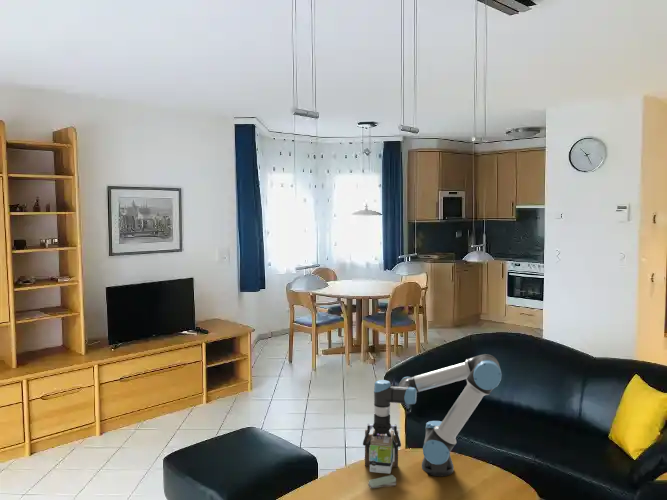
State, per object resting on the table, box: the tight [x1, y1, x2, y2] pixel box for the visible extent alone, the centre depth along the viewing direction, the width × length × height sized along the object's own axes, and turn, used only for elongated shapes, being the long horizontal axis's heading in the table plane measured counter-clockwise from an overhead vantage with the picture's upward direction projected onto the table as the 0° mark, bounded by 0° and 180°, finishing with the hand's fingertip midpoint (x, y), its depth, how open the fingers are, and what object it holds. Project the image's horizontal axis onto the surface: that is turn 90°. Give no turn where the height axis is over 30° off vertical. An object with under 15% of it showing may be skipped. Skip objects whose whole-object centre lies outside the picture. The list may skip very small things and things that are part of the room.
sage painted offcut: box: [368, 474, 397, 487], centre depth 249 cm, size 12×4×2 cm, turn 115°
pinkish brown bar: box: [367, 483, 396, 489], centre depth 250 cm, size 12×4×2 cm, turn 94°
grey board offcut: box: [368, 480, 397, 489], centre depth 250 cm, size 12×4×2 cm, turn 106°
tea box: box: [369, 428, 395, 475], centre depth 259 cm, size 15×10×15 cm, turn 169°
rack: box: [364, 429, 399, 468], centre depth 269 cm, size 16×2×18 cm, turn 85°
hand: (381, 460), depth 260 cm, fingers closed on tea box, 10 cm apart
